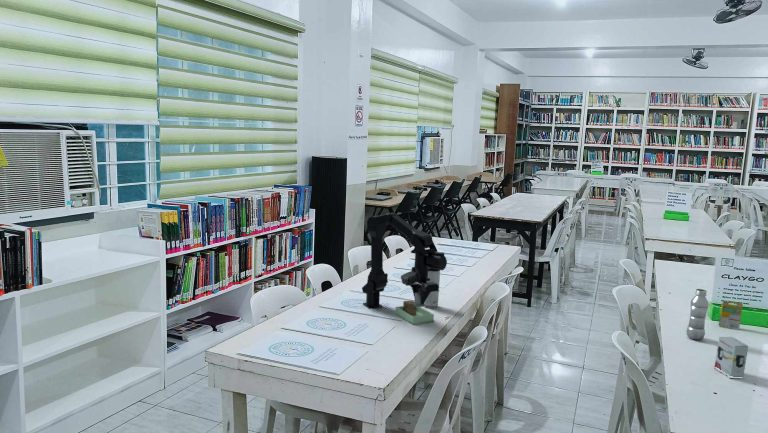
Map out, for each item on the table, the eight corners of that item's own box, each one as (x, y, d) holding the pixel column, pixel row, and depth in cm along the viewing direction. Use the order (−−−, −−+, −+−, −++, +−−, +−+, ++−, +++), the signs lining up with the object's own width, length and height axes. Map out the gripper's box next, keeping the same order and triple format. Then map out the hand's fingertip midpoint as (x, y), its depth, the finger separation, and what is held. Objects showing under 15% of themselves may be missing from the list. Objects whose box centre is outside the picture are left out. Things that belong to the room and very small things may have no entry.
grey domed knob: (411, 304, 235) (412, 292, 234) (420, 302, 237) (421, 291, 236) (417, 307, 231) (418, 295, 230) (427, 306, 233) (427, 294, 233)
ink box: (713, 368, 201) (718, 335, 199) (726, 368, 201) (731, 336, 199) (730, 379, 192) (735, 345, 190) (743, 379, 193) (749, 345, 191)
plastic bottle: (702, 337, 231) (708, 289, 228) (705, 343, 225) (712, 293, 222) (684, 334, 233) (690, 286, 230) (687, 340, 227) (693, 291, 224)
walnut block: (402, 312, 242) (403, 301, 241) (411, 311, 244) (411, 300, 243) (407, 315, 238) (408, 304, 238) (416, 314, 240) (416, 302, 240)
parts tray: (395, 313, 242) (395, 306, 241) (415, 311, 247) (415, 304, 246) (412, 324, 230) (412, 317, 229) (433, 321, 235) (433, 314, 234)
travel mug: (437, 309, 250) (440, 264, 247) (422, 307, 252) (425, 263, 248) (439, 305, 256) (442, 261, 253) (424, 303, 258) (427, 260, 254)
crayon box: (738, 328, 245) (742, 301, 243) (739, 330, 242) (743, 303, 240) (718, 324, 248) (722, 298, 246) (719, 326, 245) (723, 300, 243)
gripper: (392, 261, 236) (390, 298, 238) (416, 272, 220) (414, 312, 222) (415, 259, 241) (413, 295, 244) (441, 270, 225) (438, 308, 227)
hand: (419, 302), depth 234 cm, fingers closed on grey domed knob, 4 cm apart
